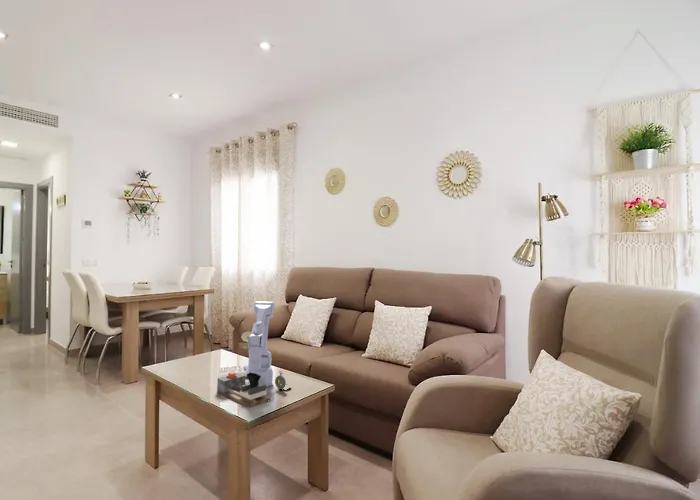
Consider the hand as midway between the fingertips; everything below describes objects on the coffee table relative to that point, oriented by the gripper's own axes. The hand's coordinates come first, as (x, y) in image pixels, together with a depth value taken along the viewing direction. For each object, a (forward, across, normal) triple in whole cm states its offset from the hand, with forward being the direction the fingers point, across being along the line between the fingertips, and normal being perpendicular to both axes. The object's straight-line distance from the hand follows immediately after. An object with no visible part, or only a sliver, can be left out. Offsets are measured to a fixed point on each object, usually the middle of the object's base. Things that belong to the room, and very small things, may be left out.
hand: (253, 388), depth 177 cm
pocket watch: (+6, -2, +20) cm, 21 cm away
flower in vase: (+6, -31, +21) cm, 38 cm away
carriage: (+3, 0, 0) cm, 3 cm away
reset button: (+1, -18, 0) cm, 18 cm away
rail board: (+6, -8, 0) cm, 10 cm away
